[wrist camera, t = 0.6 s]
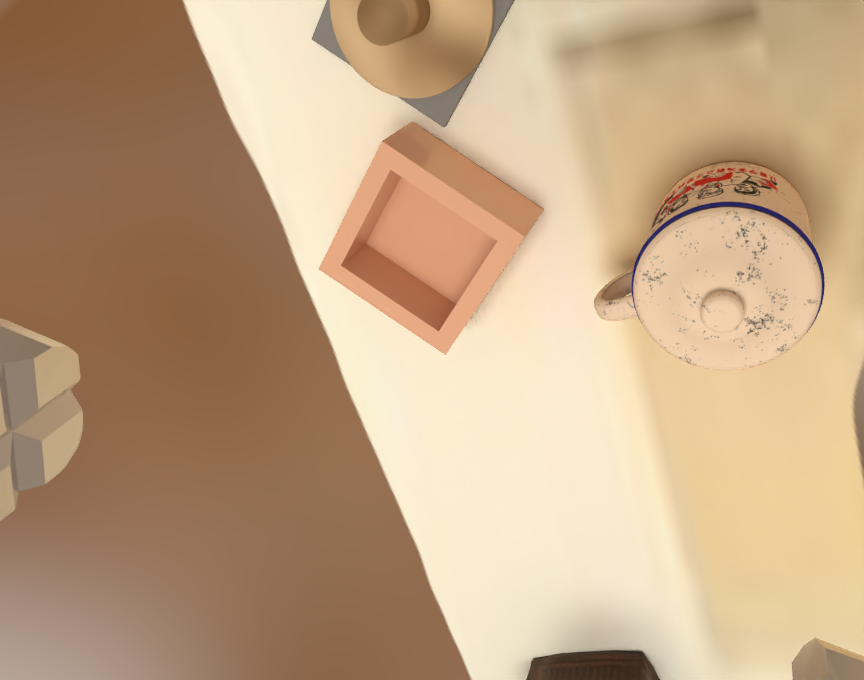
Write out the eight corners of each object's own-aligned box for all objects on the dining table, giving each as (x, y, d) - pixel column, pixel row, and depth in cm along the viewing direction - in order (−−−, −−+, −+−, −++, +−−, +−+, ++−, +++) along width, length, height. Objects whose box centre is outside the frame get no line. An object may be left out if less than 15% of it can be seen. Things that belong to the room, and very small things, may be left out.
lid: (377, -124, 44) (340, -127, 40) (526, -26, 44) (504, -19, 40) (311, 39, 50) (273, 50, 46) (443, 127, 50) (416, 146, 46)
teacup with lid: (784, 129, 44) (792, 194, 34) (834, 275, 46) (855, 373, 37) (582, 207, 49) (540, 281, 40) (636, 332, 52) (609, 430, 42)
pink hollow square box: (412, 121, 51) (382, 141, 46) (543, 209, 50) (524, 236, 46) (350, 241, 56) (318, 269, 52) (468, 321, 56) (445, 354, 52)
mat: (379, -124, 45) (377, -124, 44) (528, -26, 44) (526, -26, 44) (314, 38, 50) (311, 39, 50) (445, 125, 50) (443, 127, 50)
